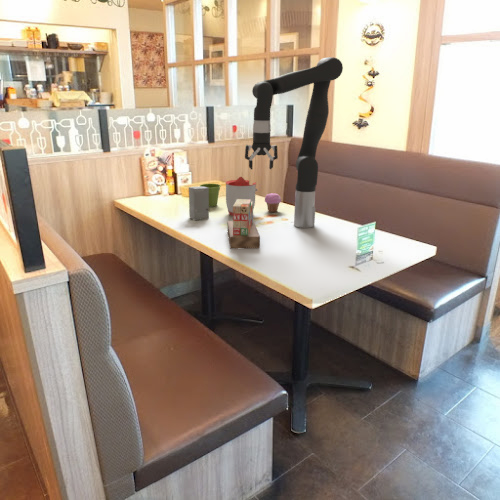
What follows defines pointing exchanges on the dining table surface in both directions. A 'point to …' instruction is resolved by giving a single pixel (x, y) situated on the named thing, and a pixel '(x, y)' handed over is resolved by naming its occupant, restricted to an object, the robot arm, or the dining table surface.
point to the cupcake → (272, 201)
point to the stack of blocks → (242, 216)
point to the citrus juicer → (239, 192)
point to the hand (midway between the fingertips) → (260, 169)
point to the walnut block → (243, 237)
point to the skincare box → (199, 202)
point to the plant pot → (213, 193)
